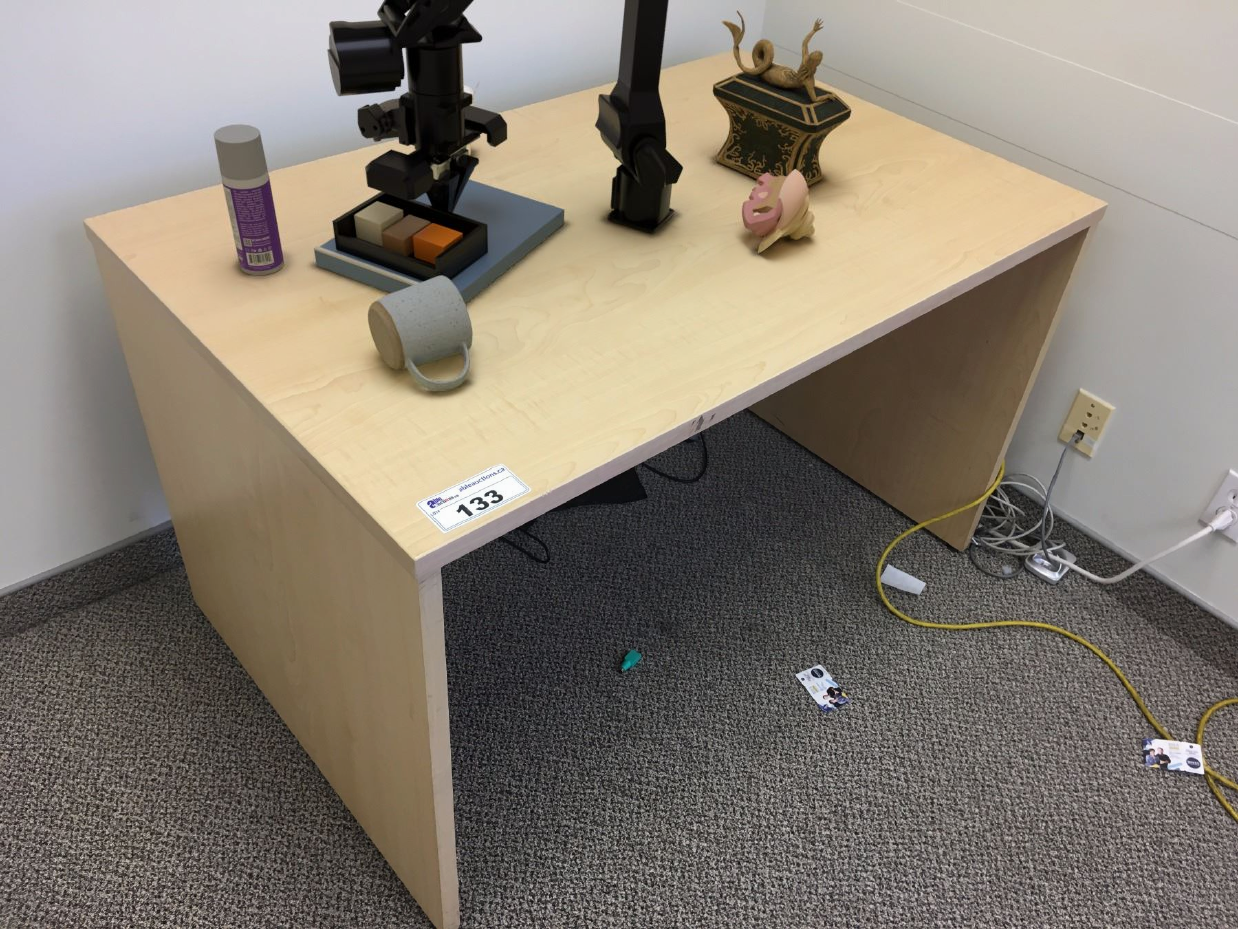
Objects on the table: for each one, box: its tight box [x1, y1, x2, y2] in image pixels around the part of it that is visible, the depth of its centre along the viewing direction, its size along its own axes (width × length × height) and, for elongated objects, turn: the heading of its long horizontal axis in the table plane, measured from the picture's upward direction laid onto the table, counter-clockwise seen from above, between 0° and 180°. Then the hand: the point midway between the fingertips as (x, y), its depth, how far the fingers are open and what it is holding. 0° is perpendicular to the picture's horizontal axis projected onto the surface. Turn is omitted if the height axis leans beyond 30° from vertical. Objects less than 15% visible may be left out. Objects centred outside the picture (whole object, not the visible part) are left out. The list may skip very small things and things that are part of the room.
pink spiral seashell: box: [741, 169, 816, 254], centre depth 120 cm, size 9×10×10 cm
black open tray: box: [332, 191, 488, 281], centre depth 110 cm, size 14×9×4 cm, turn 62°
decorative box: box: [712, 10, 852, 187], centre depth 132 cm, size 20×10×20 cm, turn 48°
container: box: [213, 123, 285, 276], centre depth 105 cm, size 5×5×15 cm
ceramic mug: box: [367, 276, 474, 392], centre depth 96 cm, size 11×8×8 cm
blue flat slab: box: [313, 178, 565, 305], centre depth 116 cm, size 18×24×2 cm
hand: (443, 220), depth 114 cm, fingers closed
